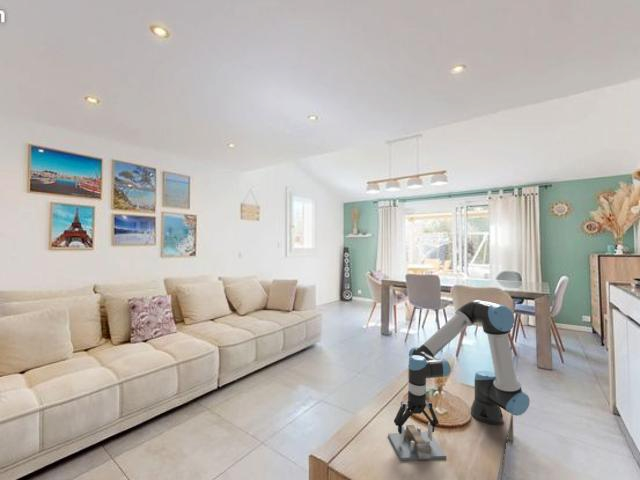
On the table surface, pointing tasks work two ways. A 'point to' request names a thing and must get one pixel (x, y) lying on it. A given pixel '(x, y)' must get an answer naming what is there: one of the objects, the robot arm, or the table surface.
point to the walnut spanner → (418, 442)
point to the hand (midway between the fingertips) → (415, 439)
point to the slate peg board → (407, 447)
